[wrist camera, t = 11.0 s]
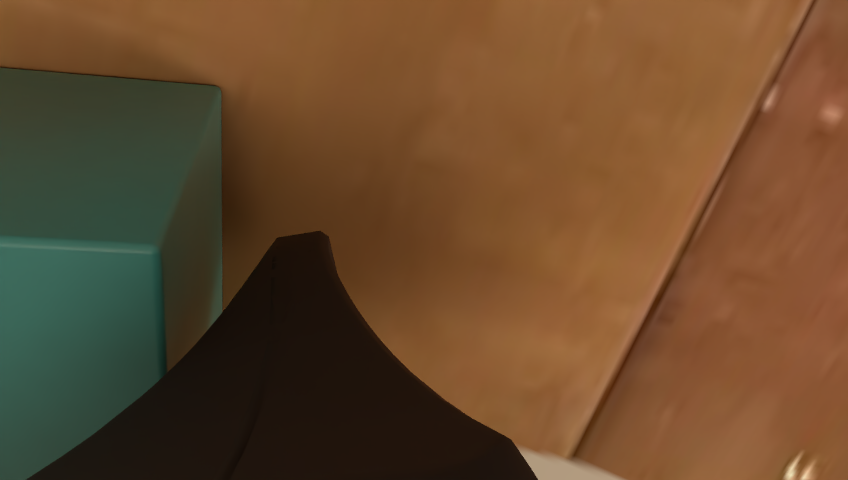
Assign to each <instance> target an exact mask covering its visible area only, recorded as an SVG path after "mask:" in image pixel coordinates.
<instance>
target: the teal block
mask: <svg viewBox="0 0 848 480" xmlns="http://www.w3.org/2000/svg"><path fill="white" fill-rule="evenodd" d="M221 314H222V120H221V90H220V88H219V87H216V86H210V85H198V84H186V83H174V82H163V81H151V80H139V79H127V78H116V77H104V76H92V75H80V74H69V73H57V72H45V71H33V70H22V69H10V68H0V480H26V479H27V478H29V477H31V476H32V475H34V474H35V473H37V472H38V471H40V470H41V469H43V468H44V467H46V466H48V465H49V464H51V463H52V462H54V461H55V460H57V459H58V458H60V457H61V456H63V455H64V454H66V453H67V452H69V451H70V450H72V449H73V448H74V447H76V446H77V445H79V444H80V443H82V442H83V441H84V440H86V439H87V438H89V437H90V436H91V435H93V434H94V433H96V432H97V431H98V430H99V429H101V428H102V427H103V426H104V425H106V424H107V423H108V422H109V421H111V420H112V419H113V418H114V417H116V416H117V415H118V414H119V413H121V412H122V411H123V410H124V409H126V408H127V407H128V406H129V405H131V404H132V403H133V402H135V401H136V400H137V399H138V398H140V397H141V396H142V395H143V394H144V393H145V392H147V391H148V390H149V389H150V388H151V387H152V386H153V385H154V384H155V383H157V382H158V381H159V380H160V379H161V378H162V377H163V376H164V375H165V374H166V373H167V372H168V371H169V370H170V369H172V368H173V367H174V366H175V365H176V364H177V363H178V362H179V361H180V360H181V359H182V358H183V357H184V356H185V355H186V354H187V353H188V351H189V350H190V349H191V348H192V347H193V346H194V345H195V344H196V343H197V342H198V341H199V339H200V338H201V337H202V336H203V335H204V334H205V332H206V331H207V330H208V329H209V328H210V327H211V325H212V324H213V323H214V322H215V321H216V320H217V318H218V317H219V316H220V315H221Z"/></svg>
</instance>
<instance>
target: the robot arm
mask: <svg viewBox="0 0 848 480" xmlns="http://www.w3.org/2000/svg"><path fill="white" fill-rule="evenodd" d="M26 480H538V479H537V478H536V476H535V474H534V472H533V471H532V470H531V468H530V466H529V465H528V463H527V462H526V460H525V459H524V457H523V456H522V455H521V453H520V452H519V450H518V449H517V447H516V446H515V444H514V443H513V442H512V440H511V439H509V438H507V437H506V436H504V435H502V434H500V433H498V432H496V431H495V430H493V429H491V428H489V427H487V426H485V425H483V424H482V423H480V422H478V421H476V420H474V419H472V418H471V417H469V416H467V415H466V414H465V413H463V412H462V411H460V410H459V409H457V408H456V407H454V406H453V405H451V404H450V403H449V402H447V401H446V400H444V399H443V398H442V397H441V396H439V395H438V394H437V393H436V392H434V391H433V390H432V389H431V388H430V387H428V386H427V385H426V384H425V383H424V382H422V381H421V380H420V379H419V378H418V377H416V376H415V375H414V374H413V373H412V372H410V371H409V370H408V369H407V368H406V367H405V366H404V365H403V364H402V363H401V362H400V361H399V360H398V359H397V358H396V357H395V356H394V355H393V354H392V352H391V351H390V350H389V349H388V348H387V347H386V346H385V345H384V344H383V342H382V341H381V340H380V339H379V338H378V337H377V335H376V334H375V333H374V332H373V330H372V329H371V328H370V326H369V325H368V324H367V322H366V321H365V319H364V318H363V317H362V315H361V314H360V312H359V311H358V310H357V308H356V306H355V305H354V303H353V302H352V300H351V299H350V297H349V295H348V293H347V291H346V290H345V288H344V286H343V284H342V282H341V281H340V279H339V277H338V274H337V271H336V267H335V262H334V258H333V253H332V249H331V244H330V240H329V236H327V235H326V234H324V233H323V232H321V231H316V232H310V233H304V234H298V235H292V236H285V237H279V238H277V239H276V240H275V242H274V243H273V244H272V246H271V247H270V248H269V250H268V251H267V252H266V254H265V255H264V257H263V258H262V259H261V261H260V262H259V264H258V265H257V267H256V268H255V269H254V271H253V272H252V274H251V275H250V276H249V278H248V279H247V281H246V282H245V283H244V285H243V286H242V288H241V289H240V290H239V291H238V293H237V294H236V295H235V297H234V298H233V299H232V301H231V302H230V303H229V305H228V306H227V307H226V309H225V310H224V311H223V312H222V314H221V315H220V316H219V317H218V318H217V320H216V321H215V322H214V323H213V324H212V325H211V327H210V328H209V329H208V330H207V331H206V332H205V334H204V335H203V336H202V337H201V338H200V339H199V341H198V342H197V343H196V344H195V345H194V346H193V347H192V348H191V349H190V350H189V351H188V353H187V354H186V355H185V356H184V357H183V358H182V359H181V360H180V361H179V362H178V363H177V364H176V365H175V366H174V367H173V368H172V369H170V370H169V371H168V372H167V373H166V374H165V375H164V376H163V377H162V378H161V379H160V380H159V381H158V382H157V383H155V384H154V385H153V386H152V387H151V388H150V389H149V390H148V391H147V392H145V393H144V394H143V395H142V396H141V397H140V398H138V399H137V400H136V401H135V402H133V403H132V404H131V405H129V406H128V407H127V408H126V409H124V410H123V411H122V412H121V413H119V414H118V415H117V416H116V417H114V418H113V419H112V420H111V421H109V422H108V423H107V424H106V425H104V426H103V427H102V428H101V429H99V430H98V431H97V432H96V433H94V434H93V435H91V436H90V437H89V438H87V439H86V440H84V441H83V442H82V443H80V444H79V445H77V446H76V447H74V448H73V449H72V450H70V451H69V452H67V453H66V454H64V455H63V456H61V457H60V458H58V459H57V460H55V461H54V462H52V463H51V464H49V465H48V466H46V467H44V468H43V469H41V470H40V471H38V472H37V473H35V474H34V475H32V476H31V477H29V478H27V479H26Z"/></svg>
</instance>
